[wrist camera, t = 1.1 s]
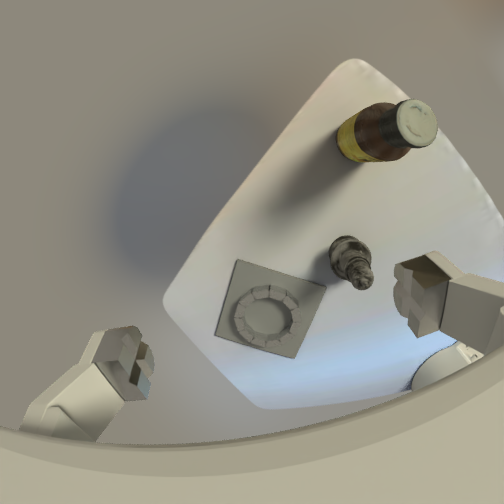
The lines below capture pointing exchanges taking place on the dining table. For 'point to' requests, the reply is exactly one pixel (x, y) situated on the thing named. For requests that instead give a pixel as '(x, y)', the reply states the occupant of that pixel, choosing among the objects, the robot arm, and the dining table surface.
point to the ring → (262, 338)
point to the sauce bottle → (387, 131)
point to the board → (269, 306)
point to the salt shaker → (352, 261)
